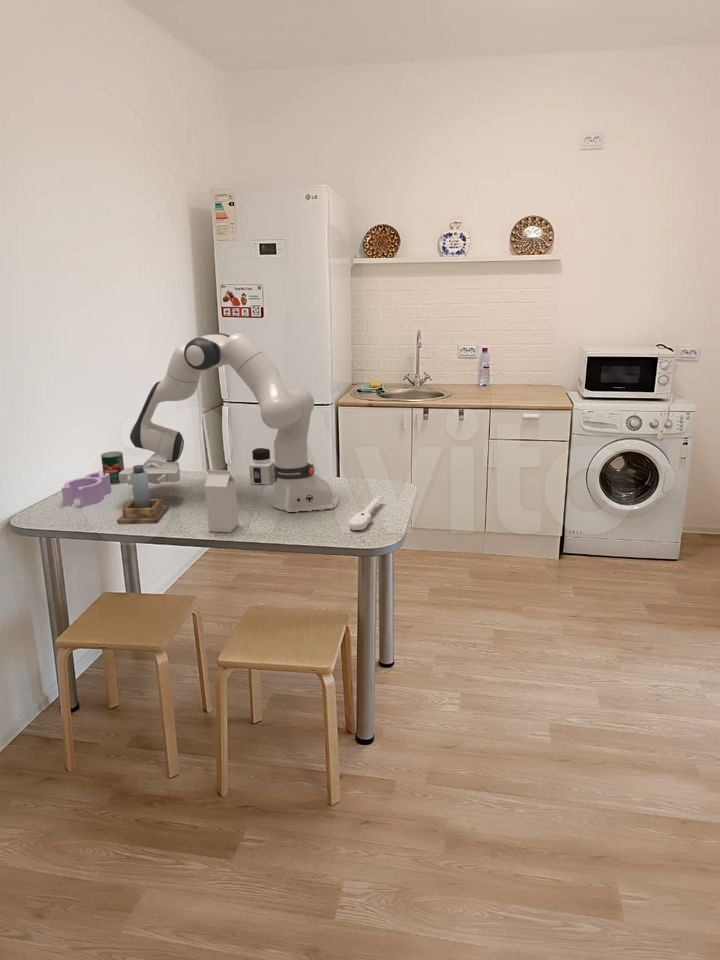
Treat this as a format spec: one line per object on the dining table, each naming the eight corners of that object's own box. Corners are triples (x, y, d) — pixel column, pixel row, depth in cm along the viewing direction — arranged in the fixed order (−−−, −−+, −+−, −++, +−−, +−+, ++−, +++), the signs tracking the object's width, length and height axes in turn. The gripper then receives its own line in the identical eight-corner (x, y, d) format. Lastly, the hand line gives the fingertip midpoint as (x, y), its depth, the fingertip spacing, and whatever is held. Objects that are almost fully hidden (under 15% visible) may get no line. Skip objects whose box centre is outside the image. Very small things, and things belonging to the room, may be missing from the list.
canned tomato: (106, 485, 271) (102, 457, 268) (102, 480, 278) (99, 453, 274) (127, 482, 275) (124, 454, 271) (123, 477, 281) (120, 450, 278)
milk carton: (230, 533, 220) (225, 474, 215) (208, 531, 222) (203, 473, 216) (238, 525, 227) (234, 467, 221) (217, 523, 228) (212, 466, 223)
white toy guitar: (371, 503, 244) (371, 495, 244) (387, 504, 243) (387, 496, 242) (345, 531, 219) (345, 522, 218) (363, 533, 217) (363, 524, 216)
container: (270, 485, 267) (267, 451, 263) (250, 484, 268) (247, 451, 264) (275, 479, 274) (273, 446, 270) (256, 478, 275) (254, 446, 272)
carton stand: (168, 508, 244) (167, 497, 242) (157, 523, 230) (156, 510, 229) (130, 509, 244) (129, 497, 242) (117, 524, 230) (115, 511, 229)
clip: (90, 489, 267) (87, 471, 265) (120, 491, 265) (117, 473, 263) (57, 506, 249) (54, 488, 247) (89, 508, 246) (87, 489, 244)
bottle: (153, 510, 239) (148, 464, 234) (148, 515, 234) (143, 468, 229) (138, 510, 239) (132, 464, 234) (133, 515, 234) (128, 468, 229)
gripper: (124, 462, 250) (111, 473, 237) (182, 461, 250) (172, 472, 237) (126, 479, 252) (113, 491, 239) (184, 478, 252) (174, 490, 239)
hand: (143, 481), depth 238 cm, fingers open, 8 cm apart
